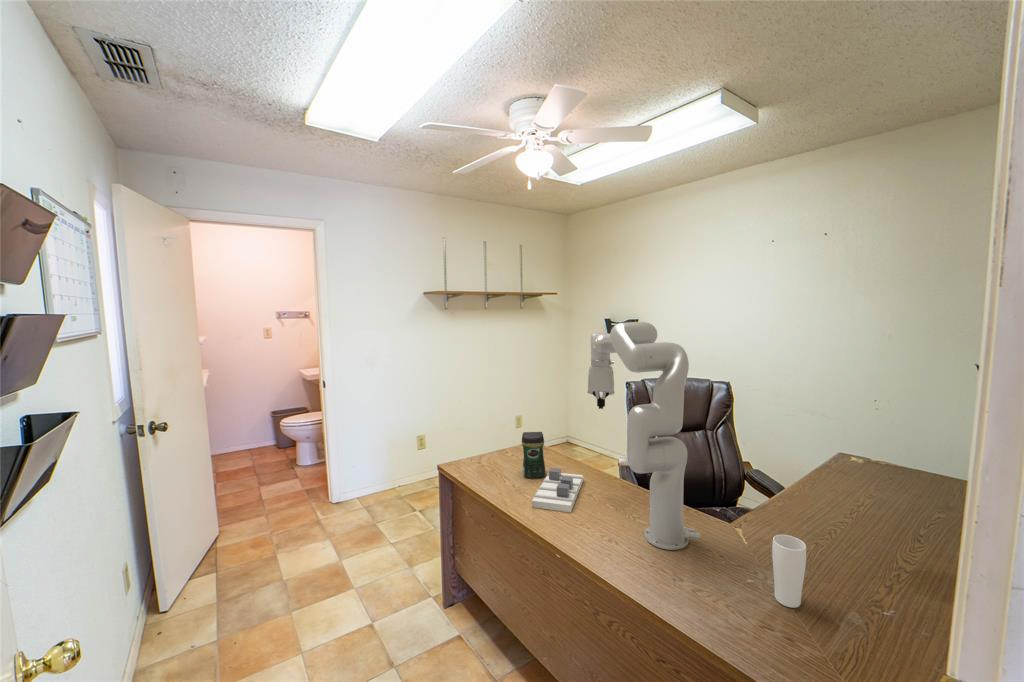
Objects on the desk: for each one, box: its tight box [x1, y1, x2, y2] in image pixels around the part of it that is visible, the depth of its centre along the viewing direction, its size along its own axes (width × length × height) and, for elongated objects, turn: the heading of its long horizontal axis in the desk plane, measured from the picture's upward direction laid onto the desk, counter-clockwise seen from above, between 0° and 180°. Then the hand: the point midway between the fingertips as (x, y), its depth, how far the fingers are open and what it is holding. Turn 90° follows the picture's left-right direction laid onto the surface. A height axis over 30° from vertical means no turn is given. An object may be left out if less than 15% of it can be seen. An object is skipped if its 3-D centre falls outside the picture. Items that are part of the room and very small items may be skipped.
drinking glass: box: [771, 534, 807, 609], centre depth 101 cm, size 7×7×15 cm
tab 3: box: [557, 483, 570, 498], centre depth 154 cm, size 4×4×3 cm
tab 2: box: [561, 476, 573, 490], centre depth 160 cm, size 4×4×3 cm
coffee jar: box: [520, 431, 546, 479], centre depth 178 cm, size 10×8×19 cm
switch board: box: [531, 472, 584, 513], centre depth 161 cm, size 14×26×3 cm, turn 161°
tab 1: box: [548, 467, 562, 481], centre depth 168 cm, size 4×4×3 cm
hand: (601, 408), depth 172 cm, fingers closed
